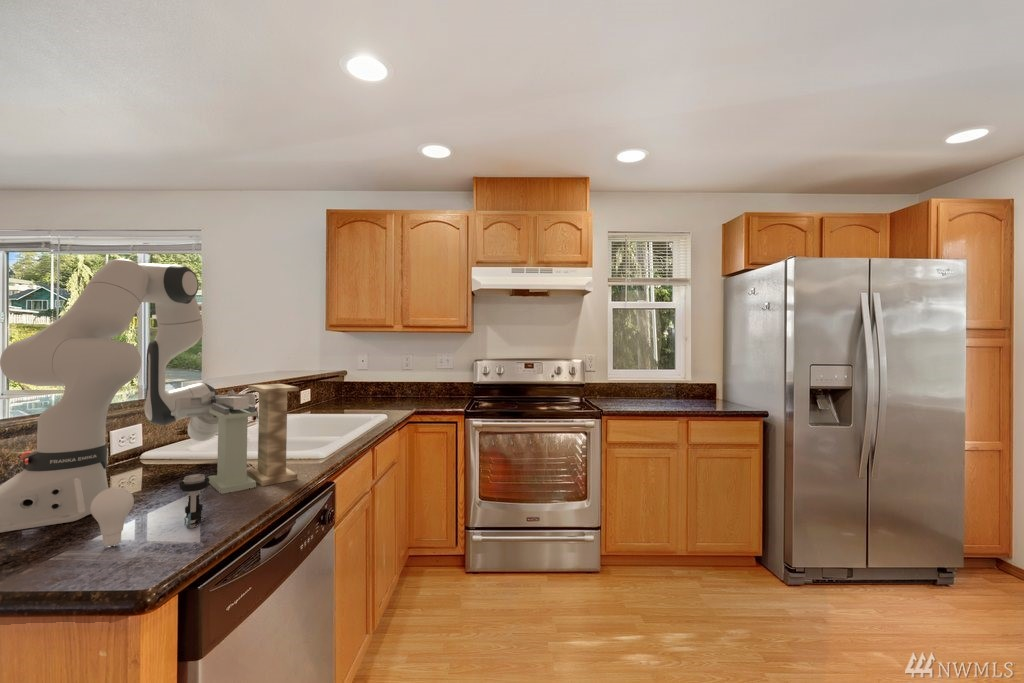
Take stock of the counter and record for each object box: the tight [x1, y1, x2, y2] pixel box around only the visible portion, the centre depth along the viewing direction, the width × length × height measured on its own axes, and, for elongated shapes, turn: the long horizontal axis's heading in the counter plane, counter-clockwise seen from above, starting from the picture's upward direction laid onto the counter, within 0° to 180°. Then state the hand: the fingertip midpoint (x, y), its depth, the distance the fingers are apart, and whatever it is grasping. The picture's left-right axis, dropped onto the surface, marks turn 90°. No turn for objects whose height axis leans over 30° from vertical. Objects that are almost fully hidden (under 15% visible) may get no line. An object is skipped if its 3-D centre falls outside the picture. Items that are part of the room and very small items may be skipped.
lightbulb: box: [90, 486, 135, 547], centre depth 84 cm, size 6×6×11 cm
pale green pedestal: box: [207, 403, 258, 495], centre depth 122 cm, size 8×14×22 cm, turn 45°
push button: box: [178, 473, 210, 529], centre depth 95 cm, size 7×5×10 cm
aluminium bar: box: [211, 396, 249, 410], centre depth 125 cm, size 4×26×3 cm, turn 45°
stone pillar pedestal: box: [247, 383, 300, 487], centre depth 129 cm, size 9×14×26 cm, turn 45°
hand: (222, 393), depth 130 cm, fingers closed on aluminium bar, 3 cm apart
